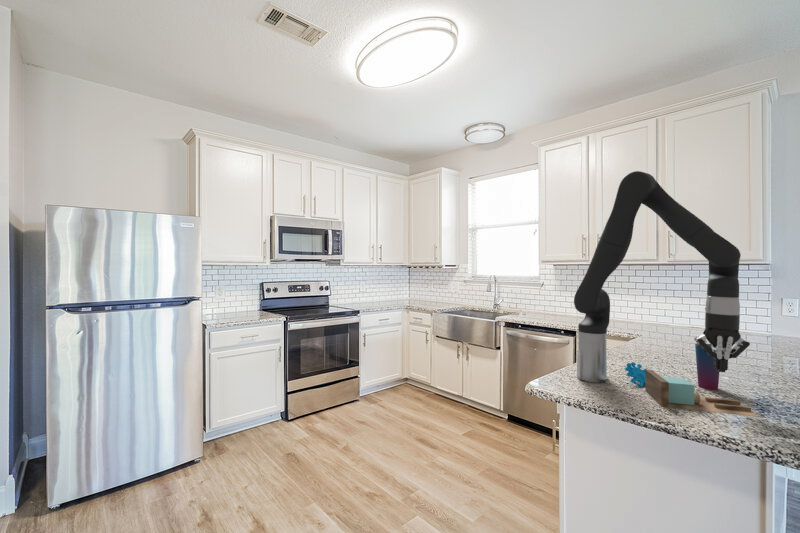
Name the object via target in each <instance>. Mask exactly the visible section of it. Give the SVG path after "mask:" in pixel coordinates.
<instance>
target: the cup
mask: <svg viewBox="0 0 800 533" xmlns="http://www.w3.org/2000/svg"><path fill="white" fill-rule="evenodd" d="M706 344H707V345H708V347H709V348H710V349H711V350H712V346H711V344H710V343H706ZM694 347H695V348H694V349H695V350H694V351H695V360H696V373H697V374H696V375H697V386H698V387H699V389H700V388H701V389H703V390H709V391H718V390H719V383H720V381H719V380H720V372H718V371H716V369H715V368H714V367H713V365H714V358H713V357H712V356H710V355H708V354H706V353H705V352H704V350H703V349H702V348H701V347H700V346H699V345H698V343H697V342H695V344H694ZM712 351H713V350H712Z"/></svg>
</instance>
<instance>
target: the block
mask: <svg viewBox="0 0 800 533" xmlns="http://www.w3.org/2000/svg"><path fill="white" fill-rule="evenodd" d="M661 377H662V378H663V379H665V380H666V381H667V382H669V403H677V404H686V405H694V393H695V384H694V383H692V382H691V381H689V380H687V379H685V378H681V377H671V376H661Z"/></svg>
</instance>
